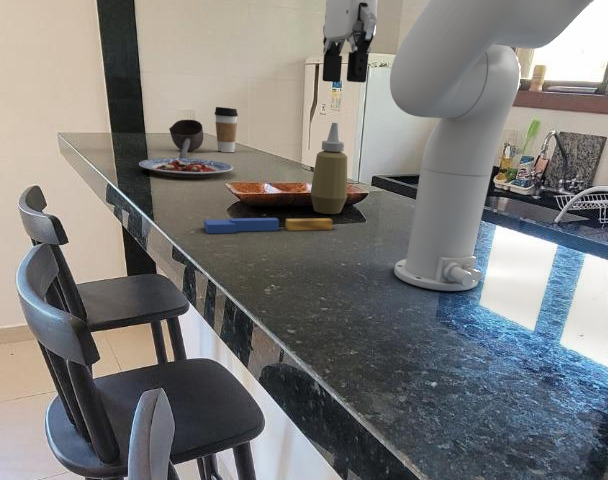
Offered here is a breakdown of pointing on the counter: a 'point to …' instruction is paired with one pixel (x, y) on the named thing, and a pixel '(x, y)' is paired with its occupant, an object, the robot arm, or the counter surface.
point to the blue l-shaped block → (241, 225)
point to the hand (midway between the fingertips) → (343, 81)
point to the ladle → (187, 136)
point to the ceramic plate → (186, 167)
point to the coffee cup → (226, 128)
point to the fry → (309, 224)
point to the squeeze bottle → (330, 175)
